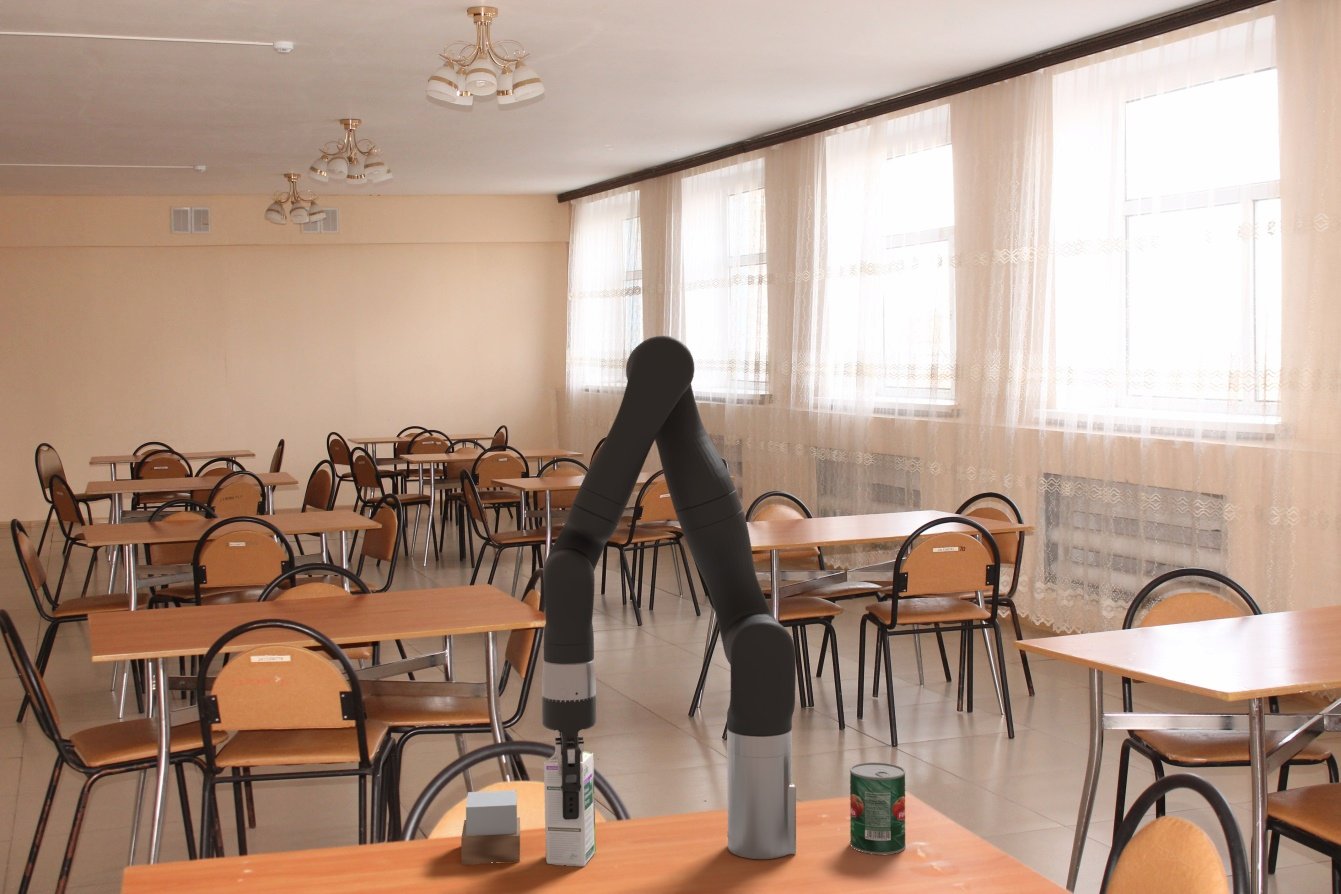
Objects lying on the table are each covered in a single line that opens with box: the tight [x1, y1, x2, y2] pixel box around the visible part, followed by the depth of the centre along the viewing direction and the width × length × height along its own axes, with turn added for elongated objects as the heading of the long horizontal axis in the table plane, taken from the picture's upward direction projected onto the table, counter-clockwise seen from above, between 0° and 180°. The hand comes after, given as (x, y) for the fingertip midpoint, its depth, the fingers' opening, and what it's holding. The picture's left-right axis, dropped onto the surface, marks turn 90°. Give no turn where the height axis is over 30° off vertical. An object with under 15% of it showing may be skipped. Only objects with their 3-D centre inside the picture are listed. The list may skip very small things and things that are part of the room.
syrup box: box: [543, 750, 597, 867], centre depth 167 cm, size 6×6×14 cm
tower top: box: [465, 789, 518, 836], centre depth 170 cm, size 7×7×4 cm
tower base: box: [460, 816, 521, 865], centre depth 169 cm, size 8×8×4 cm
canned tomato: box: [849, 761, 906, 856], centre depth 171 cm, size 8×8×11 cm
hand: (569, 810), depth 167 cm, fingers closed on syrup box, 6 cm apart
